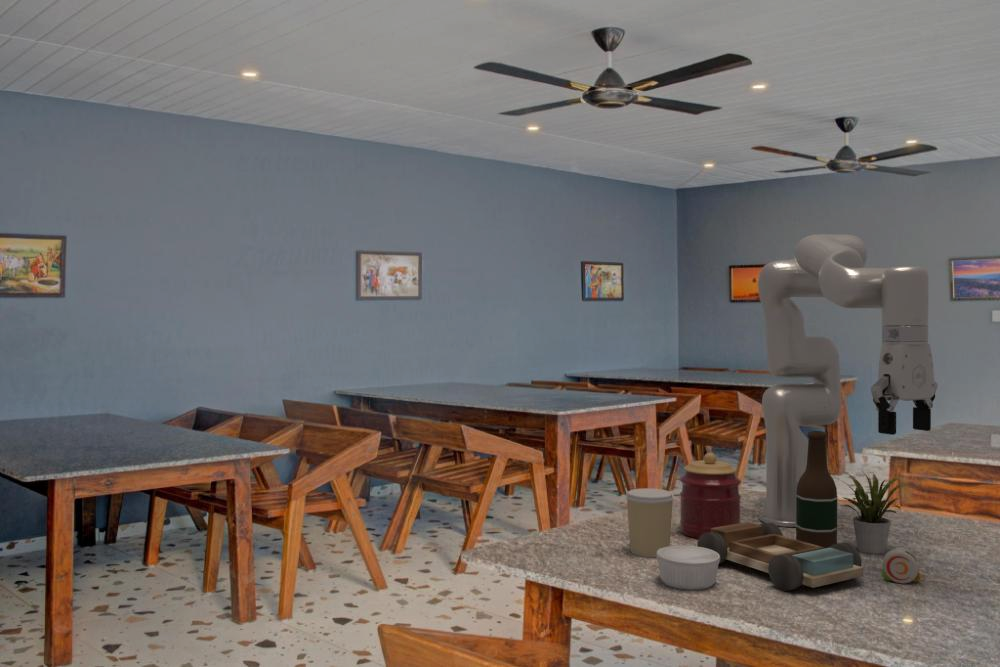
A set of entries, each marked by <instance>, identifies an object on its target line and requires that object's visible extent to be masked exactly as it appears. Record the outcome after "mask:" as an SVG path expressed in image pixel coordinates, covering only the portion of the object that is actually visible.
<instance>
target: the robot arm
mask: <svg viewBox="0 0 1000 667" xmlns="http://www.w3.org/2000/svg"><path fill="white" fill-rule="evenodd" d="M867 251H868V250H867V247H866V245H865V242H863V240H862V239H861V238H860V237H858V236H857V235H852V234H841V233H840V234H839V233H838V234H835V233H834V234H830V233H827V234H825V233H821V234H820V233H819V234H810V235H808V236H805V237H804V238H802V239H800V241H799V242H797V244H796V245H795V248H794V259H780V260H779V259H778V260H774V261H771V262H768V263H766V264H764V265H763V267H762V269H760V272H759V276H758V281H757V289H758V290H757V291H758V296H759V300H760V305H761V308H762V311H763V313H764V314H763V315H764V319H765V320H764V321H765V339H766V340H765V342H766V360H767V367H768V371H769V372H770V374H771V375H773V376H774V377H778V378H783V379H789V378H790V379H799V378H801V379H803V378H804V379H805V378H807V379H808V378H809V379H810V378H811V379H812V383H781V384H780V383H779V384H774V385H772V386H770V387H768V388H767V389H765V391H764V392H763V394H762V398H761V407H762V414H763V419H764V426H765V440H766V441H765V443H766V444H765V445H766V448H765V449H766V450H765V452H766V467H765V468H766V474H765V475H766V477H765V478H766V479H765V480H766V481H765V482H766V486H765V488H766V489H765V492H766V493H765V494H766V497H763V496H760V497H759V498H758V499H757V500H756V501H755V506H757V507H761V508H762V512H760V513H759V515H758V519H759V520H760V521H761V522H762V523H763V524H764V523H773V524H775V525H777V526H778V527H785V528H788V527H789V528H796V494H797V485H798V482H799V480H800V478H801V476H802V475H803V473H804V472H805V470H806V465H807V455H808V440H809V439H808V437H807V436H806V435H805V434H804V433H803V431H802V429H801V428H800V426H802V427H803V426H823V425H831V424H833V423H835V422H837V420H838V419H839V418H840V415H841V411H842V388H841V365H840V355H839V350H838V348H837V346H836V344H835V343H834V342H833V341H832V340H831V339H830V338H827V337H824V336H818V335H817V336H807V335H806V332H805V331H806V330H805V318H804V314H803V312H802V310H801V309H800V308H799V306H798V305H797V303H796V302H795V301H794V299H791V298H825V299H827V300H828V301H830V302H831V303H833V304H835V305H837V306H839V307H841V308H846V309H881V346H880V347H881V348H880V353H879V354H880V355H879V361H878V372H877V373H878V374H877V375H878V376H877V381H876V382H874V384H872V385H871V386H870V392H871V396H872V402H873V404H874V405H875V410H876V411H878V412H877V413H878V414H877V417H878V418H877V421H878V424H877V425H878V426H877V429H878V433H879V434H883V435H893V436H894V435H897V411H894V410H895V408H896V407H897V404H898V402H899V400H900V401H903V402H904V401H907V402H909V401H910V402H911V401H912V402H913V405H914V407H912V429H913V430H917V431H923V432H924V431H925V432H930V431H931V428H932V427H931V426H932V423H931V422H932V409H933V406H934V403H933V402H934V400H935V398H936V393H937V389H938V387H939V386H938V383H937V382H936V381H935V372H934V360H933V355H932V354H933V352H932V348H931V344H930V343H929V272H928V271H927V269H926V268H924V267H922V266H893V267H892V266H891V267H887V268H886V267H882V268H881V267H865V264H866V262H867V258H868V252H867Z"/></svg>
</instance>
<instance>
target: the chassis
mask: <svg viewBox="0 0 1000 667" xmlns="http://www.w3.org/2000/svg"><path fill="white" fill-rule="evenodd" d="M696 546H697V547H703V548H707V549H711V550H713V551H715V552H717V553H718V554H719V555H720V562H719V564H718V565H721V564H723V563H725V561H726V560H728V561H731V562H734V563H737V564H740V565H743V566H745V567H748V568H753V569H754V570H755V569H756V570H758V571H762V572H763V573H767V574H768V575H769V578H770V581H771V583H772V584H773V585H774V587H775V588H776V589H778V590H780V591H781V592H788V591H793V590H797V589H799V588H800V587H801V586H802V585H803V586H806V587H810V588H817V587H822V586H827V585H831V584H834V583H839V582H843V581H848V580H852V579H856V578H860V577H864V576H865V573H864V572H865V571H864V569H865V568H864V567H863V566H862V557H861V555H860V551H859V550H858V548H857V547H855V546H854V545H853V544H852V543H849V542H840V543H838V542H837V544H834V545H832V546H830V548H825V547H821V546H817V545H814V544H810V543H806V542H803V541H799V540H796V539H794V538H791V537H789V536H784V535H783V533H782V531H781V529H780V526H777V525H775V524H773V523H764V522H763V523H760V524H757V523H754V522H749V521H746V522H745V521H744V522H740V523H739V524H733V525H727V526H721V527H715V528H711V533H705V534H702V535H701V536H700V537H699V538H697V545H696Z"/></svg>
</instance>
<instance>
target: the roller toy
mask: <svg viewBox="0 0 1000 667" xmlns="http://www.w3.org/2000/svg"><path fill="white" fill-rule="evenodd" d="M882 561H883V562H882V570H881V576H882V578H883V579H884V580H885V581H888V582H891V581H892V582H895V583H897V584H908V583H911V582H912V583H918V582H919V581H921V579H922V573H921V572H920V571H919V570H920V560H919V558H918V557H917V555H916V554H915V553H914V552H913V551H912V550H910V549H908V548H907V547H903V546H902V547H901V546H900V547H899V546H897V547H894V548H891V549H890V550H888V551H887V552H886V553H885V556H884V558H883V560H882Z"/></svg>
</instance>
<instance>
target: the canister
mask: <svg viewBox="0 0 1000 667" xmlns="http://www.w3.org/2000/svg"><path fill="white" fill-rule="evenodd" d="M683 470H684V471H685V472H684V474H683V475H681V476H680V478H679V481H680V483H681V485H682V486H681V491H680V492H679V497H680V519H679V528H680V532H681V533H682V535H684V536H686V537H689V538H694V539H699V537H700V536H701V535H702V534H705V533H711V528H715V527H721V526H727V525H733V524H739V523H741V498H742V496H741V494H740V492H739V486H740V484H741V483H742V480H741V478H739V477H738V476H736V473H737V471H738V470H737V468H736V467H734V466H733V465H731V464H730V463H729V462H726V461H722V460H721V461H720V460H717V456H716V454H715V453H713V452H707V453H706V454H704V458H703V459H702V460H701V459H700V460H694V461H691V462H689V464H687V465H685V466H684V467H683Z"/></svg>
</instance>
